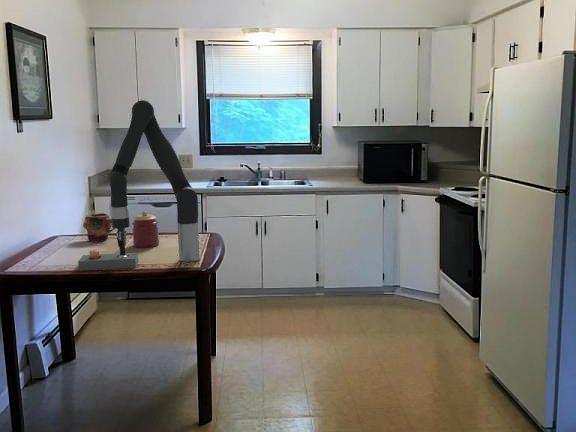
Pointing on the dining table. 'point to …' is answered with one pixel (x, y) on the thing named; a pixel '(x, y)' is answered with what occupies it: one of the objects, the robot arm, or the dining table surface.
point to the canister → (145, 231)
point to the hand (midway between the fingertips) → (122, 255)
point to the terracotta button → (94, 254)
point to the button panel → (108, 262)
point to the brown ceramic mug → (98, 227)
